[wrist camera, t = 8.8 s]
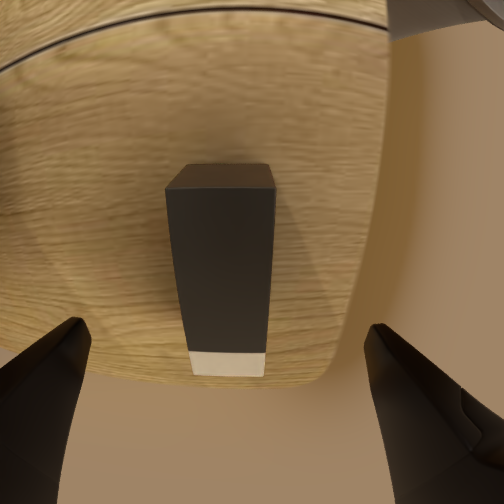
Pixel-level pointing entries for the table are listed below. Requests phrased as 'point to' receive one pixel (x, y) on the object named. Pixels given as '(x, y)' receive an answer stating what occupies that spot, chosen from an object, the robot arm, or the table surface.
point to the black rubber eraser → (223, 263)
